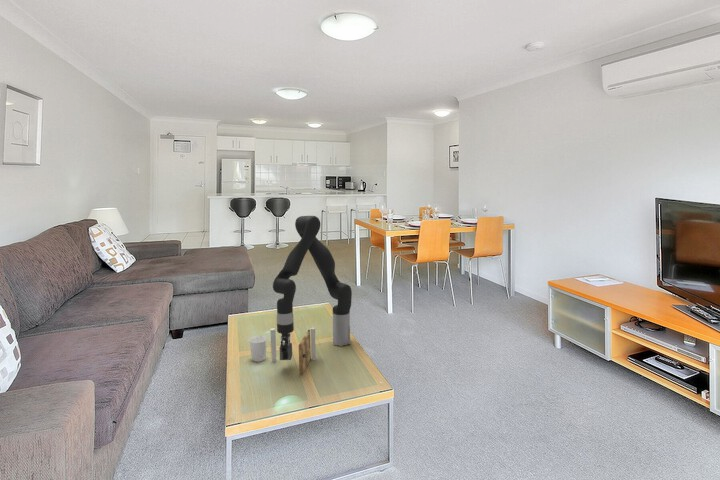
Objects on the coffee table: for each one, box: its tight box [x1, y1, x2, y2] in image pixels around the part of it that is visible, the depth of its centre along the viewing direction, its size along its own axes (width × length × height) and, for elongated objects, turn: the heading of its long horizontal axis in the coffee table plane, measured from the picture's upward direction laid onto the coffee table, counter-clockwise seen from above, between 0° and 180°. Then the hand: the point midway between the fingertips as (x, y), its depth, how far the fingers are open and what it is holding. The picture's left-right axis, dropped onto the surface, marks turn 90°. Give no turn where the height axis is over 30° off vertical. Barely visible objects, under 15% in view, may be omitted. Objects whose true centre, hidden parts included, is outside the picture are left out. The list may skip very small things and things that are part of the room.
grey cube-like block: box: [279, 342, 293, 361], centre depth 170 cm, size 5×5×6 cm
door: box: [298, 329, 311, 375], centre depth 172 cm, size 16×2×15 cm, turn 173°
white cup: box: [249, 335, 268, 363], centre depth 181 cm, size 8×8×10 cm
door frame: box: [270, 326, 317, 362], centre depth 179 cm, size 21×2×16 cm, turn 94°
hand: (286, 356), depth 171 cm, fingers closed on grey cube-like block, 5 cm apart
